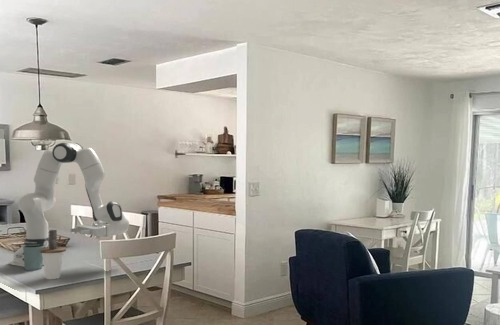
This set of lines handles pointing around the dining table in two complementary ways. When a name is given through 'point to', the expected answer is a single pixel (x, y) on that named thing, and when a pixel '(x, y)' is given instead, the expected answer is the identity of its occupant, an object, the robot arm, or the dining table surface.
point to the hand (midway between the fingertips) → (75, 231)
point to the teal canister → (33, 257)
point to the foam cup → (52, 264)
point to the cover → (52, 244)
